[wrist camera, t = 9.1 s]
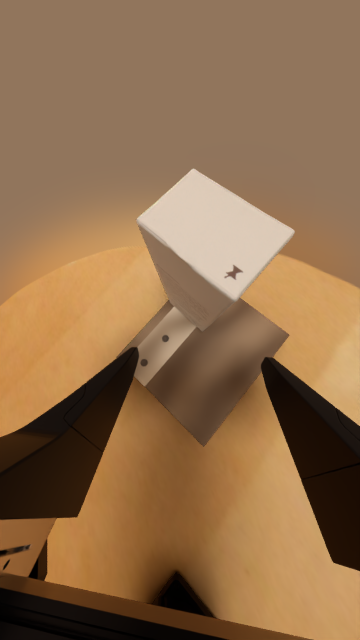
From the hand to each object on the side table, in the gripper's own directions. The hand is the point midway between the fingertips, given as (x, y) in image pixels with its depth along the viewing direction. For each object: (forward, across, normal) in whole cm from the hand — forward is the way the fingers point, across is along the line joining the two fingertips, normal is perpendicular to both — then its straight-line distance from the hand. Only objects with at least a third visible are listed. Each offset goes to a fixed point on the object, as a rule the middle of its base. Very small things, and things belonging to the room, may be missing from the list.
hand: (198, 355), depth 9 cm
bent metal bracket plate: (+7, -1, +6) cm, 9 cm away
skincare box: (+9, 0, +1) cm, 9 cm away
